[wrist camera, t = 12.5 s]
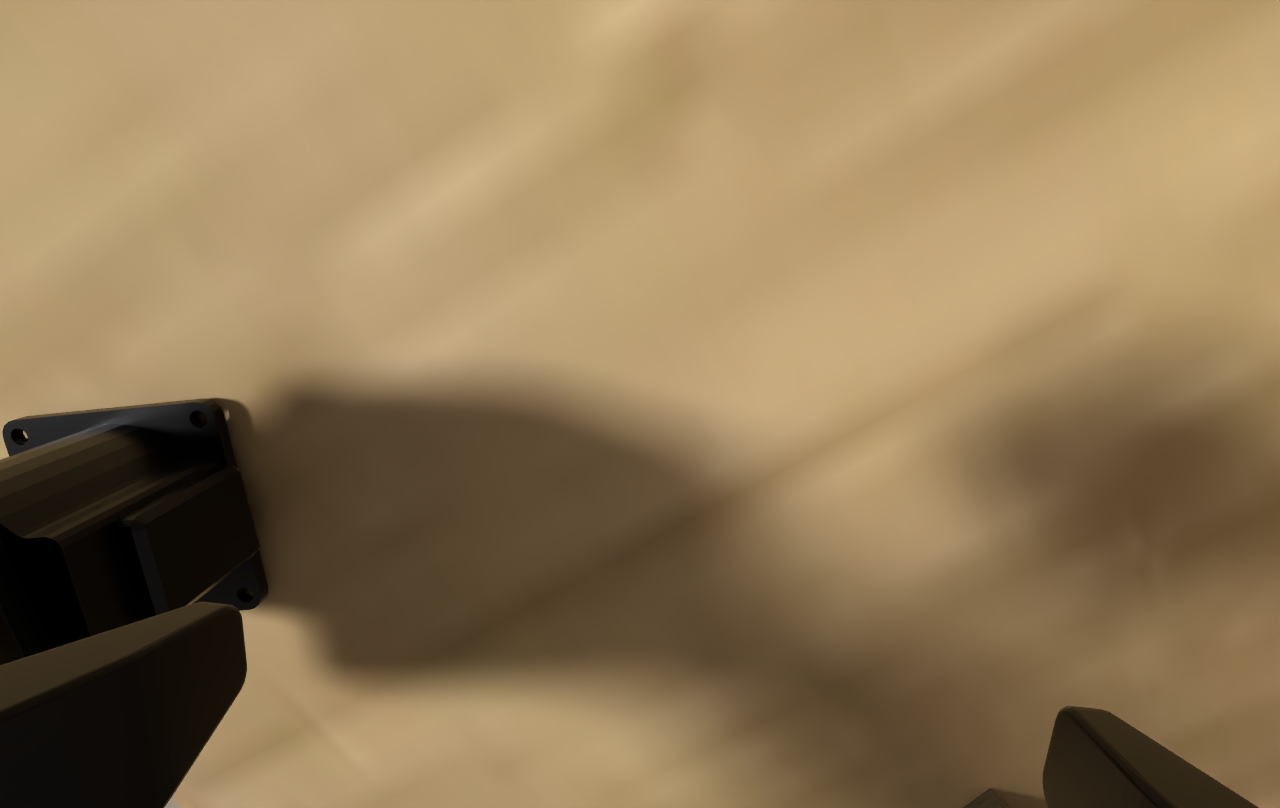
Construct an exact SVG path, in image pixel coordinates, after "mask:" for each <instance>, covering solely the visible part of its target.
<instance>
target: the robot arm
mask: <svg viewBox="0 0 1280 808" xmlns="http://www.w3.org/2000/svg"><path fill="white" fill-rule="evenodd" d="M199 411H201V412H203V413H204V414H205V415H206V417H207V424H205V423H204V422H202V421H201V419H200V418H199ZM23 431H25V432H26V434H27V436H28V439H27V438H25V436H24V434H23ZM3 439H4V442H5V445H6V448H7V451H8V454H9V457H7V458H4V459H2V460H0V808H164V807H165V806H166V804H167V803H168V801H169V800H170V798H171V797H172V795H173V794H174V793H175V791H176V790H177V788H178V786H179V785H180V783H181V782H182V780H183V779H184V777H185V776H186V774H187V773H188V771H189V769H190V768H191V766H192V765H193V763H194V762H195V760H196V759H197V757H198V756H199V754H200V753H201V751H202V749H203V748H204V746H205V745H206V743H207V742H208V740H209V739H210V737H211V736H212V734H213V732H214V731H215V729H216V728H217V726H218V725H219V723H220V722H221V720H222V719H223V717H224V715H225V714H226V712H227V711H228V709H229V708H230V706H231V705H232V703H233V702H234V700H235V699H236V697H237V695H238V694H239V692H240V690H241V689H242V686H243V684H244V681H245V678H246V672H247V661H246V652H245V642H244V632H243V623H242V616H241V613H240V612H239V610H250V609H253V608H255V607H257V606H258V605H259V604H260V603H261V602H262V601H263V600H264V599H266V597H267V595H268V585H267V581H266V577H265V573H264V569H263V565H262V561H261V558H260V554H259V550H258V549H259V543H258V539H257V535H256V531H255V527H254V523H253V519H252V515H251V511H250V507H249V503H248V500H247V496H246V492H245V488H244V484H243V480H242V476H241V473H240V471H239V470H238V468H237V464H236V460H235V456H234V452H233V448H232V444H231V440H230V436H229V433H228V429H227V425H226V421H225V417H224V413H223V411H222V409H221V407H220V406H219V405H218V404H217V403H216V402H214V401H212V400H210V399H196V400H186V401H176V402H166V403H156V404H146V405H136V406H126V407H116V408H106V409H96V410H86V411H76V412H66V413H56V414H46V415H35V416H26V417H22V418H19V419H16V420H13V421H10V422H8V423H7V424H6V425H5V426H4V428H3ZM245 587H246V588H248V589H250V590H251V591H252V593H253V596H252V595H249V594H248V593H247V592H246V591H245ZM1043 790H1044V796H1045V799H1046V803H1047V806H1048V808H1258V807H1257V806H1255V805H1254V804H1252V803H1251V802H1249V801H1248V800H1246V799H1244V798H1243V797H1241V796H1240V795H1238V794H1237V793H1235V792H1233V791H1232V790H1230V789H1229V788H1227V787H1226V786H1224V785H1223V784H1221V783H1219V782H1218V781H1216V780H1215V779H1213V778H1212V777H1210V776H1209V775H1207V774H1205V773H1204V772H1202V771H1201V770H1199V769H1198V768H1196V767H1194V766H1193V765H1191V764H1190V763H1188V762H1187V761H1185V760H1184V759H1182V758H1180V757H1179V756H1177V755H1176V754H1174V753H1173V752H1171V751H1170V750H1168V749H1166V748H1165V747H1163V746H1162V745H1160V744H1159V743H1157V742H1155V741H1154V740H1152V739H1151V738H1149V737H1148V736H1146V735H1145V734H1143V733H1141V732H1140V731H1138V730H1137V729H1135V728H1134V727H1132V726H1130V725H1129V724H1127V723H1126V722H1124V721H1123V720H1121V719H1120V718H1118V717H1116V716H1115V715H1113V714H1112V713H1110V712H1108V711H1105V710H1101V709H1092V708H1083V707H1075V706H1066V707H1064V708H1063V709H1061V710H1060V711H1059V713H1058V715H1057V717H1056V720H1055V724H1054V728H1053V732H1052V736H1051V741H1050V745H1049V749H1048V753H1047V757H1046V761H1045V766H1044V770H1043Z"/></svg>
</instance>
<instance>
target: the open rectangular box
mask: <svg viewBox="0 0 1280 808" xmlns="http://www.w3.org/2000/svg"><path fill="white" fill-rule="evenodd" d="M965 808H1011V807H1010V806H1009V805H1007V804H1006V803H1005V802H1004V801H1003V800H1002V799H1001V798H1000V797H999V796H998V795H997V794H996V793H994V792H993V791H992V790H991V789H989V790H988V791H987V792H985V793H984V794H983V795H981V796H980V797H978V798H977V799H976V800H974V801H973V802H972V803H970V804H969V805H967V806H966V807H965Z"/></svg>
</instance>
